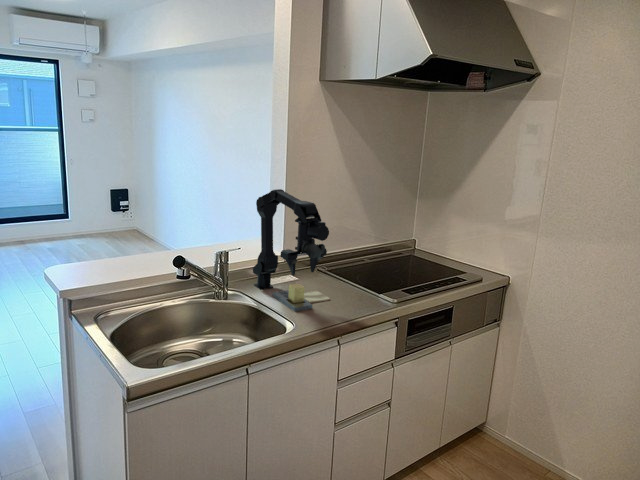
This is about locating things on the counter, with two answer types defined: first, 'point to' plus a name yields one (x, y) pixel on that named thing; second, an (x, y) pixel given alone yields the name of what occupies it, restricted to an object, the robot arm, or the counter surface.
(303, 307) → the grey block holder tray
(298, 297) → the brass block
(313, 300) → the pale folded cloth
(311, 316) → the counter surface
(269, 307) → the counter surface
